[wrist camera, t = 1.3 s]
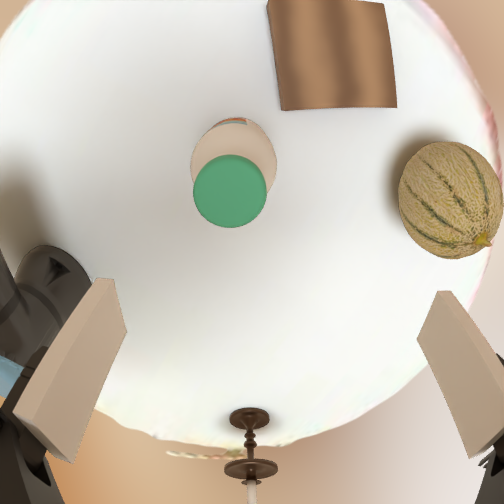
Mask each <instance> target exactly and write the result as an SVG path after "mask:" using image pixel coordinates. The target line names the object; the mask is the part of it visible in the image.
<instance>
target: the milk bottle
mask: <svg viewBox="0 0 504 504" xmlns="http://www.w3.org/2000/svg"><path fill="white" fill-rule="evenodd" d="M276 169H277V161H276V155H275V152H274V149H273V146H272V144H271V142H270V141H269V139H268V137H267V136H266V134H265V133H264V132H263V130H262V129H261V128H260V127H259V126H258V125H257V124H255V123H254V122H252V121H250V120H248V119H245V118H239V117H234V118H228V119H225V120H222V121H220V122H219V123H217V124H216V125H214V126H213V127H212V128H211V129H210V130H208V131H207V132H206V133H205V134H204V135H203V136H202V138H201V139H200V140H199V142H198V143H197V145H196V147H195V149H194V151H193V154H192V158H191V176H192V180H193V183H194V187H193V197H194V201H195V204H196V207H197V209H198V210H199V212H200V213H201V215H202V216H203V217H204V218H205V219H206V220H208V221H209V222H211V223H213V224H215V225H217V226H221V227H226V228H234V227H239V226H243V225H245V224H247V223H249V222H251V221H252V220H253V219H255V218H256V217H257V216H258V214H259V213H260V212H261V210H262V209H263V207H264V204H265V201H266V196H267V193H268V191H269V190H270V188H271V186H272V184H273V182H274V180H275V176H276Z"/></svg>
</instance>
